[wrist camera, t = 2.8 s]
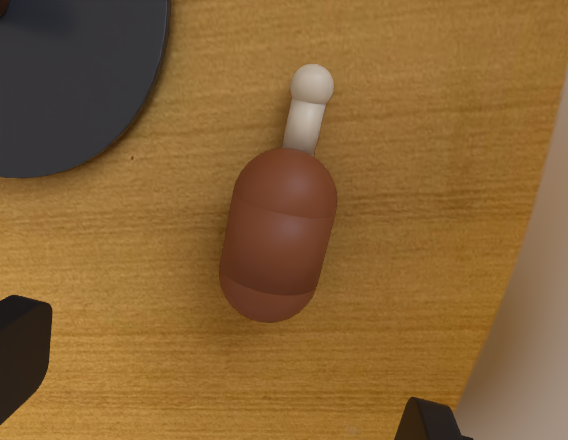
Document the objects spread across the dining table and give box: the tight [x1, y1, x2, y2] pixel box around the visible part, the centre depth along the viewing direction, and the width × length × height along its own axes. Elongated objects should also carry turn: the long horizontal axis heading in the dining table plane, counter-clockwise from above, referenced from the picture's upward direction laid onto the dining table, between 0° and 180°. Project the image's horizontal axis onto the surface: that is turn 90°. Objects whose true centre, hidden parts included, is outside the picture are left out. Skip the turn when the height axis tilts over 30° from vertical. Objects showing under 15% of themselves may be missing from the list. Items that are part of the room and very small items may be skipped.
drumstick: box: [219, 64, 337, 323], centre depth 20 cm, size 12×5×5 cm, turn 168°
